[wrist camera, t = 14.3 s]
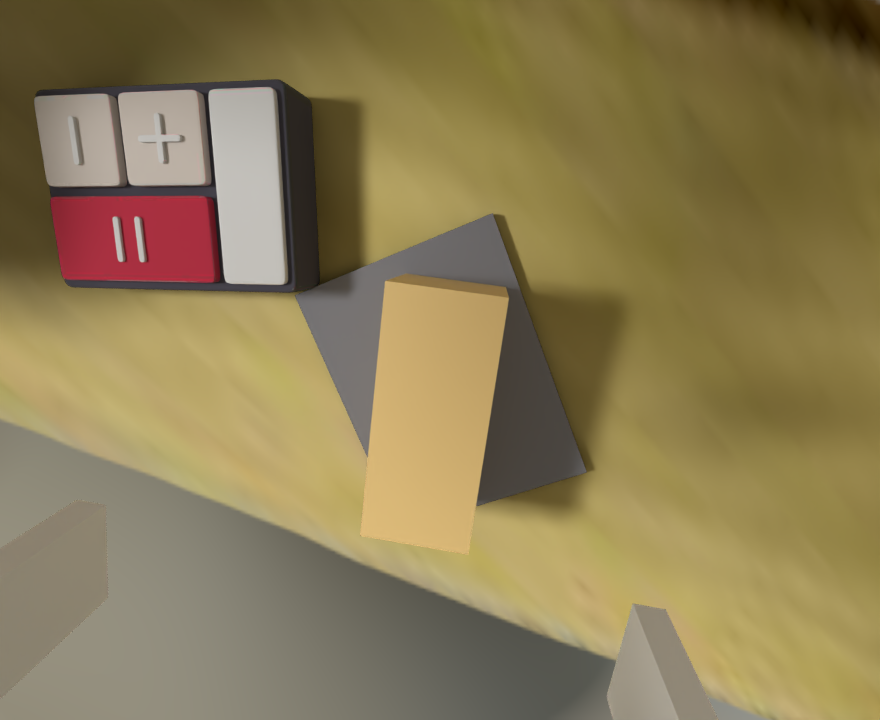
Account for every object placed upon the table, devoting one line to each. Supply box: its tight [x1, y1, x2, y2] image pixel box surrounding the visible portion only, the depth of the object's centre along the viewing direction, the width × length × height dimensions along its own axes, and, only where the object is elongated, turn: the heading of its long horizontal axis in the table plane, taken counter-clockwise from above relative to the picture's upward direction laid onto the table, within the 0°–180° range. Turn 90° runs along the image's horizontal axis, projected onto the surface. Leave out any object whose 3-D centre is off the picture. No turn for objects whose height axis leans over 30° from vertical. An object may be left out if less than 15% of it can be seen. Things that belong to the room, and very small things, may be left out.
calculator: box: [34, 79, 320, 293], centre depth 29 cm, size 11×4×15 cm
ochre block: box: [360, 274, 509, 555], centre depth 28 cm, size 6×6×14 cm
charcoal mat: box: [295, 213, 586, 506], centre depth 32 cm, size 17×13×1 cm
